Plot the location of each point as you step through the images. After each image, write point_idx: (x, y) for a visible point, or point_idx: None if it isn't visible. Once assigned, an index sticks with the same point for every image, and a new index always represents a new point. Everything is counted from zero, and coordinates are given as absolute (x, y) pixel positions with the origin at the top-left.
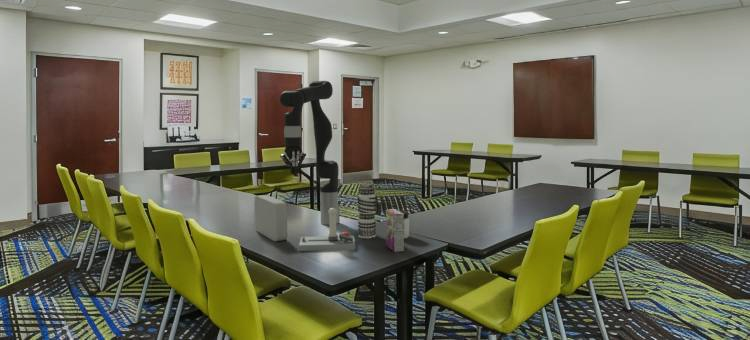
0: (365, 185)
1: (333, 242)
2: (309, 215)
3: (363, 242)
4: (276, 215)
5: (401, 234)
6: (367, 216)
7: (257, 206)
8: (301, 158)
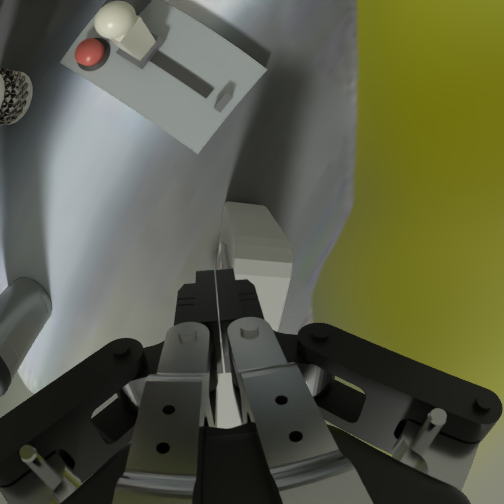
0: None
1: (159, 26)
2: None
3: (59, 39)
4: (281, 230)
5: None
6: None
7: None
8: (70, 413)
